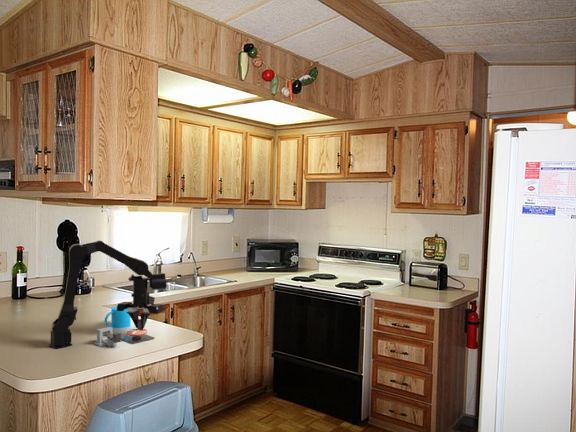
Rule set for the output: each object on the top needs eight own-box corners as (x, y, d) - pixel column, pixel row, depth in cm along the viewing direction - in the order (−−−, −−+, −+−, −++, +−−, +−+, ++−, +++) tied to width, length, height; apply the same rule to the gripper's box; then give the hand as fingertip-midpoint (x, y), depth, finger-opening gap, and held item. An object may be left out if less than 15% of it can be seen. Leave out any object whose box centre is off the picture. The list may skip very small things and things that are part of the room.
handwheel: (141, 338, 195) (141, 324, 195) (122, 337, 196) (122, 323, 196) (150, 333, 203) (150, 319, 203) (132, 332, 204) (132, 318, 204)
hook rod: (115, 343, 187) (115, 334, 186) (97, 336, 195) (97, 328, 195) (120, 341, 188) (120, 333, 188) (102, 335, 196) (102, 327, 196)
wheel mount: (133, 344, 193) (133, 341, 192) (119, 339, 199) (119, 336, 199) (154, 338, 200) (154, 335, 200) (140, 334, 207) (140, 331, 207)
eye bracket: (104, 348, 187) (104, 333, 187) (94, 344, 192) (94, 329, 192) (121, 344, 192) (121, 329, 192) (110, 340, 197) (110, 326, 197)
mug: (123, 322, 226) (123, 305, 226) (134, 325, 221) (134, 308, 220) (99, 328, 217) (99, 309, 216) (109, 331, 211) (109, 312, 211)
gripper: (170, 288, 208) (169, 325, 208) (130, 286, 212) (130, 321, 212) (157, 293, 197) (156, 331, 197) (116, 290, 201) (115, 328, 201)
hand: (140, 328), depth 202 cm, fingers closed on handwheel, 2 cm apart
